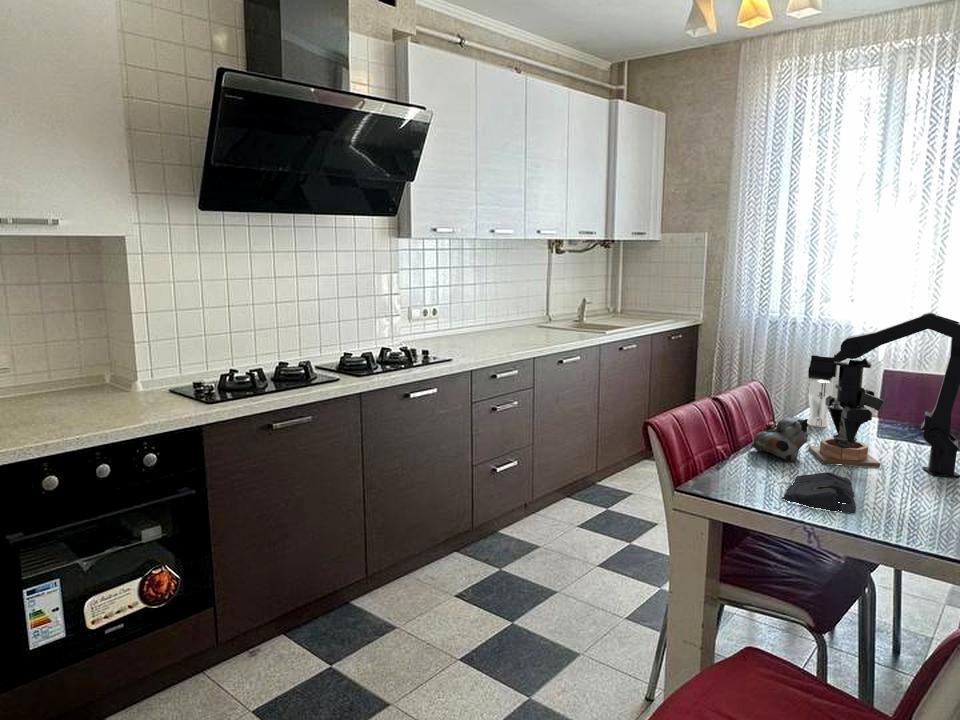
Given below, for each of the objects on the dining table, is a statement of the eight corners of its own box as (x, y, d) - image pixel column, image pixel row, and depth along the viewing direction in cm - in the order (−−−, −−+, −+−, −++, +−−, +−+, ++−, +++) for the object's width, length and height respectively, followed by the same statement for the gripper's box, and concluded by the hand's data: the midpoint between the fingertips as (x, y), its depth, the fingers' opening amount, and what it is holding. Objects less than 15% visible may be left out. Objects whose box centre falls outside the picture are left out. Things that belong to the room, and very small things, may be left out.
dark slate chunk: (860, 489, 170) (862, 471, 169) (854, 519, 152) (856, 498, 151) (792, 478, 178) (794, 460, 177) (778, 505, 159) (780, 485, 159)
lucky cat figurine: (749, 446, 204) (774, 405, 203) (789, 468, 199) (814, 426, 199) (749, 445, 190) (775, 400, 190) (792, 468, 186) (819, 423, 185)
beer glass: (812, 421, 235) (816, 377, 233) (833, 425, 230) (837, 380, 228) (802, 424, 231) (806, 380, 229) (823, 429, 226) (828, 383, 223)
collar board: (879, 467, 186) (881, 452, 185) (823, 464, 188) (825, 449, 188) (860, 452, 200) (862, 438, 199) (808, 449, 202) (809, 435, 201)
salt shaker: (860, 452, 192) (864, 409, 190) (843, 453, 190) (847, 410, 188) (844, 446, 197) (848, 404, 195) (827, 447, 196) (830, 406, 194)
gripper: (896, 390, 180) (890, 449, 183) (868, 377, 198) (863, 431, 201) (849, 388, 182) (844, 446, 184) (826, 376, 200) (822, 429, 203)
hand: (844, 438), depth 193 cm, fingers closed on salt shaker, 8 cm apart
